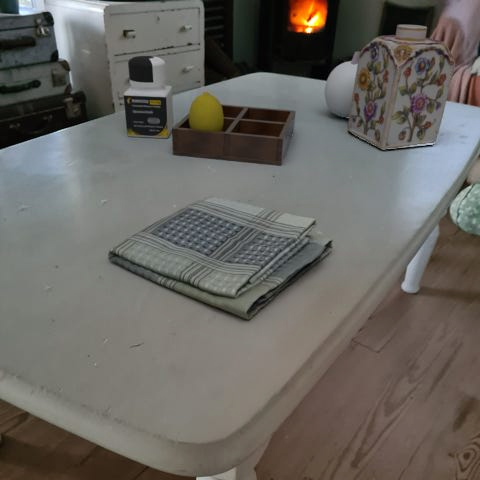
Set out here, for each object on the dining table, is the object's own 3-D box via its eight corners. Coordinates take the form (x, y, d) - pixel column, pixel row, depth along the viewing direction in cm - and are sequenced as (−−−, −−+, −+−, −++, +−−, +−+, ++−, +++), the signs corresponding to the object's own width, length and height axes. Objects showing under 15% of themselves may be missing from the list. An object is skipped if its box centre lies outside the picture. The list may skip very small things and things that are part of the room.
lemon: (228, 142, 86) (230, 90, 81) (213, 151, 82) (213, 97, 77) (199, 137, 88) (199, 86, 83) (183, 145, 84) (181, 93, 79)
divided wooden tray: (172, 154, 82) (171, 128, 80) (200, 125, 96) (200, 102, 94) (281, 165, 80) (283, 138, 78) (293, 134, 94) (295, 110, 91)
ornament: (363, 127, 99) (374, 58, 92) (314, 118, 103) (321, 51, 96) (379, 116, 106) (391, 51, 99) (333, 108, 110) (341, 45, 103)
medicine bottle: (126, 137, 89) (119, 60, 82) (135, 125, 95) (129, 52, 88) (168, 139, 89) (164, 62, 82) (173, 127, 95) (171, 54, 88)
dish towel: (102, 263, 54) (98, 235, 52) (207, 208, 66) (207, 184, 64) (251, 327, 45) (253, 297, 44) (340, 251, 58) (344, 225, 56)
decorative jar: (381, 152, 87) (404, 30, 77) (344, 132, 96) (361, 21, 85) (437, 146, 91) (467, 29, 80) (398, 127, 100) (420, 20, 89)
